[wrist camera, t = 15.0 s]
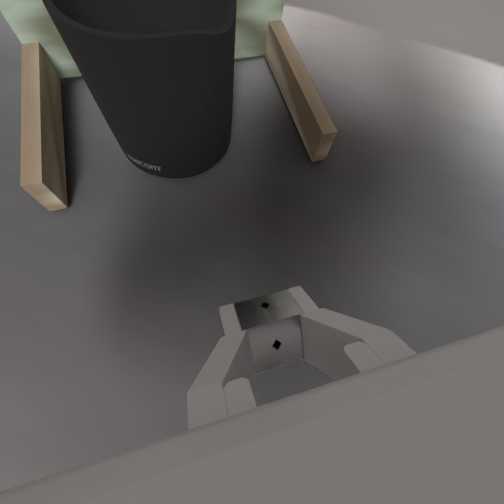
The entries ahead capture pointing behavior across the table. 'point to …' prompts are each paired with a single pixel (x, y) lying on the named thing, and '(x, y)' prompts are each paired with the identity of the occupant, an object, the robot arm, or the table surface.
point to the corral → (63, 66)
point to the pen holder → (157, 75)
